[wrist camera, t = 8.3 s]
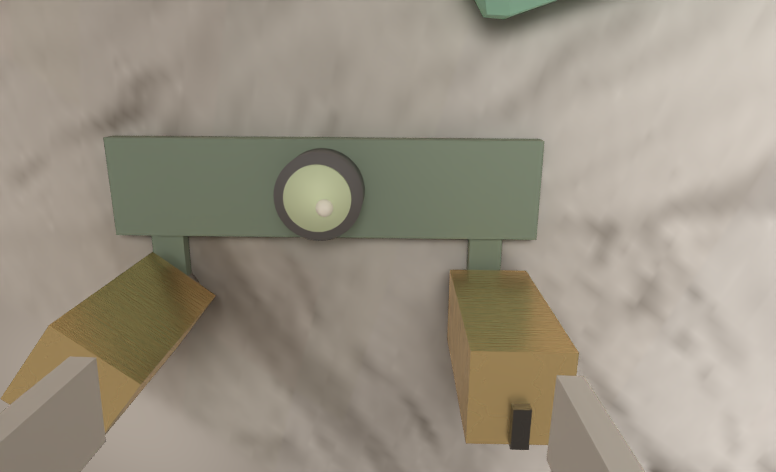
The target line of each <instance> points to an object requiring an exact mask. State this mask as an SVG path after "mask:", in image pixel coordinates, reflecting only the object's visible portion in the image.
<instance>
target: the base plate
mask: <svg viewBox="0 0 776 472" xmlns="http://www.w3.org/2000/svg"><path fill="white" fill-rule="evenodd" d="M103 139H104V147H105V154H106V161H107V169H108V176H109V183H110V191H111V198H112V206H113V213H114V220H115V228H116V235H151V237H152V245H153V252H154V253H155V254H157V255H158V256H160V257H161V258H162V259H164V260H165V261H167V262H168V263H170V264H171V265H173V266H174V267H175V268H177V269H178V270H180V271H181V272H183V273H184V274H186V275H187V276H188V277H190V278H191V279H193V280H194V281H196V282H197V283H199V282H198V280H197V278H196V277H195V276H194V275H193V274H192V272H191V262H190V252H189V242H188V236H243V237H303V238H306V239H309V240H316V241H323V240H330V239H333V238H422V239H468V255H467V270H500V266H501V250H502V239H512V240H536V236H537V224H538V212H539V200H540V188H541V176H542V164H543V151H544V141H543V140H541V139H484V138H353V137H222V136H109V137H105V138H103Z"/></svg>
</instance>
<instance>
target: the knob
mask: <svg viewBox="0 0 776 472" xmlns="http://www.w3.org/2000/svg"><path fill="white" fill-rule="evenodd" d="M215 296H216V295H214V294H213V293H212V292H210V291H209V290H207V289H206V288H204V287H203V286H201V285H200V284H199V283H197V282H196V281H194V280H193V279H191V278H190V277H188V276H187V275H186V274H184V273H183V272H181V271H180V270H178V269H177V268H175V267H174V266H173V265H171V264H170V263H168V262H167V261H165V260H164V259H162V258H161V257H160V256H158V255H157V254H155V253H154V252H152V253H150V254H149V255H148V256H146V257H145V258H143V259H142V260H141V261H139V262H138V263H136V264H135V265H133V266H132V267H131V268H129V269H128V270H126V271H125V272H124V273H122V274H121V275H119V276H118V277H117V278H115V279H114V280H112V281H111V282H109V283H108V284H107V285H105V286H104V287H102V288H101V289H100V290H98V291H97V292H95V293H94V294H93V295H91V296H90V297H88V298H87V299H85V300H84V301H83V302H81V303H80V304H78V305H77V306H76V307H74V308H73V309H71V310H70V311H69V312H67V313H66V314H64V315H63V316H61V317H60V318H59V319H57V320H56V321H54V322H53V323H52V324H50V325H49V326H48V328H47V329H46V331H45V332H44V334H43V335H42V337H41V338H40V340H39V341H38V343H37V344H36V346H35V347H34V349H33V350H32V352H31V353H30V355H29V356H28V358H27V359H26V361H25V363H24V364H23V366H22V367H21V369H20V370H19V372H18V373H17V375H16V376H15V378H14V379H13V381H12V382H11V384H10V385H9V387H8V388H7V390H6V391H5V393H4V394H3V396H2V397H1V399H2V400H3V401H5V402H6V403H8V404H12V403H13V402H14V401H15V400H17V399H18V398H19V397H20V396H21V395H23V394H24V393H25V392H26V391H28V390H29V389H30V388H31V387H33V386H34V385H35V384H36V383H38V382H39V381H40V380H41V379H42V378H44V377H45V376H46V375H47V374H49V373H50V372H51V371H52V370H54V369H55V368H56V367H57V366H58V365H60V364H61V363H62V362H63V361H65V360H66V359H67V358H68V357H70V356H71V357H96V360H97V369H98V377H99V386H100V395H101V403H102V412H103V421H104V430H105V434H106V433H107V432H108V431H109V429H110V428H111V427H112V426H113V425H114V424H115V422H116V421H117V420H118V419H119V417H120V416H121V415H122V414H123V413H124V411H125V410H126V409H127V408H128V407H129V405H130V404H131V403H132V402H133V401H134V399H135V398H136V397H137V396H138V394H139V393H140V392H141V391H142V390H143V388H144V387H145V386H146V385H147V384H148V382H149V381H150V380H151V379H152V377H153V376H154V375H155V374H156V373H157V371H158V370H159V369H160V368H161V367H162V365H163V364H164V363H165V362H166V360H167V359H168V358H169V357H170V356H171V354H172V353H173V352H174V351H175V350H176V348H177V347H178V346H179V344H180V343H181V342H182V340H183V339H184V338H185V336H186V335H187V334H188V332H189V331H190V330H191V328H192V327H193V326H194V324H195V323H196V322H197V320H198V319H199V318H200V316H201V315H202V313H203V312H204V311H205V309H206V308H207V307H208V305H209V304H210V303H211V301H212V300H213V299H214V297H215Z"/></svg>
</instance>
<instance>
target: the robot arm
mask: <svg viewBox="0 0 776 472" xmlns="http://www.w3.org/2000/svg"><path fill="white" fill-rule="evenodd" d="M105 442H106V438H105V430H104V421H103V412H102V403H101V395H100V386H99V377H98V369H97V360H96V357H71V356H70V357H68V358H67V359H66V360H65V361H63V362H62V363H61V364H60V365H58V366H57V367H56V368H55V369H54V370H52V371H51V372H50V373H49V374H47V375H46V376H45V377H44V378H42V379H41V380H40V381H39V382H38V383H36V384H35V385H34V386H33V387H31V388H30V389H29V390H28V391H26V392H25V393H24V394H23V395H21V396H20V397H19V398H18V399H17V400H15V401H14V402H13V403H12V404H10V405H9V406H8V407H7V408H5V409H4V410H3V411H2V412H0V472H81V470H82V469H83V468H84V467H85V466H86V465H87V463H88V462H89V461H90V460H91V459H92V457H93V456H94V455H95V454H96V453H97V451H98V450H99V449H100V448H101V447H102V445H103V444H104V443H105ZM547 462H548V464H549V467H550V469H551V472H645V471H644V470H643V468H642V466H641V465H640V463H639V462H638V460H637V459H636V457H635V455H634V454H633V452H632V451H631V449H630V448H629V446H628V444H627V443H626V441H625V440H624V438H623V437H622V435H621V434H620V432H619V430H618V429H617V427H616V426H615V424H614V423H613V421H612V419H611V418H610V416H609V415H608V413H607V412H606V410H605V409H604V407H603V405H602V404H601V402H600V401H599V399H598V398H597V396H596V394H595V393H594V391H593V390H592V388H591V387H590V385H589V383H588V382H587V380H586V379H585V377H584V376H565V375H557V377H556V385H555V393H554V401H553V410H552V418H551V426H550V435H549V443H548V451H547Z"/></svg>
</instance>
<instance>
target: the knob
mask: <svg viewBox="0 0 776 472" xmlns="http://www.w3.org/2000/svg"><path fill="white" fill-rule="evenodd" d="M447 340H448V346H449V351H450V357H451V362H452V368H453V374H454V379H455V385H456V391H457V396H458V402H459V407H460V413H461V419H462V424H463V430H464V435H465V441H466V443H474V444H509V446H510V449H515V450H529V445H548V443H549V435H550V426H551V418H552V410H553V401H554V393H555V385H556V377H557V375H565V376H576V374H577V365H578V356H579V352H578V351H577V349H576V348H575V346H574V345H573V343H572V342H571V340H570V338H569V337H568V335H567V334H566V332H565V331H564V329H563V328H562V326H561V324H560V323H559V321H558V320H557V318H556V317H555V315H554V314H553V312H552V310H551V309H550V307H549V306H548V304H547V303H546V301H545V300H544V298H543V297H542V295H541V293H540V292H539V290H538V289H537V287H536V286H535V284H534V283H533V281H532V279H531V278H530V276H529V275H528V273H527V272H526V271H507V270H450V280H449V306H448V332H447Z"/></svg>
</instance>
